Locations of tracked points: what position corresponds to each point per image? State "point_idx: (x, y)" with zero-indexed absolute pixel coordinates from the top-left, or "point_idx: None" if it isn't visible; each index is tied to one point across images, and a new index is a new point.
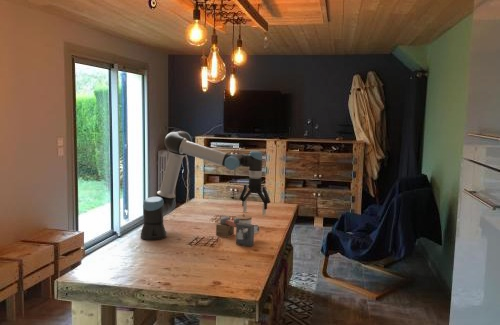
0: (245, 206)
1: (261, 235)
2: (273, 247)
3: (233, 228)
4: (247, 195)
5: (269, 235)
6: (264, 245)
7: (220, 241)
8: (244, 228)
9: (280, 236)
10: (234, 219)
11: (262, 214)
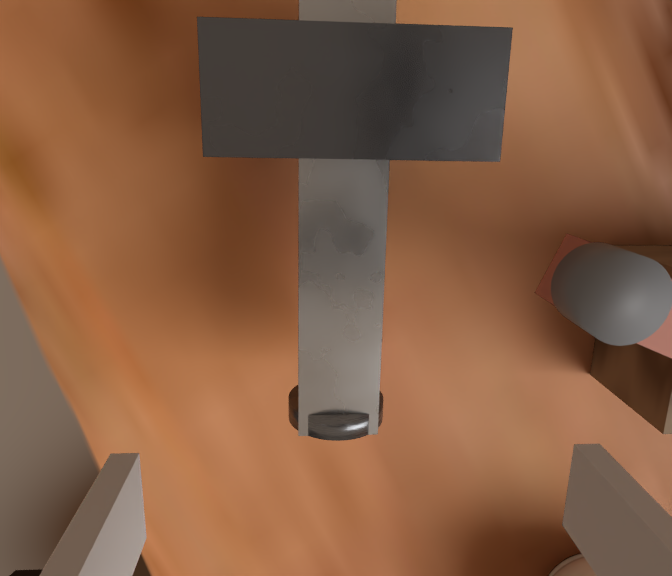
0: (634, 569)
1: (331, 486)
2: (18, 192)
3: (627, 394)
4: None
5: (264, 525)
6: (137, 204)
7: (619, 73)
8: (563, 566)
9: (157, 552)
10: (650, 258)
11: (135, 459)
